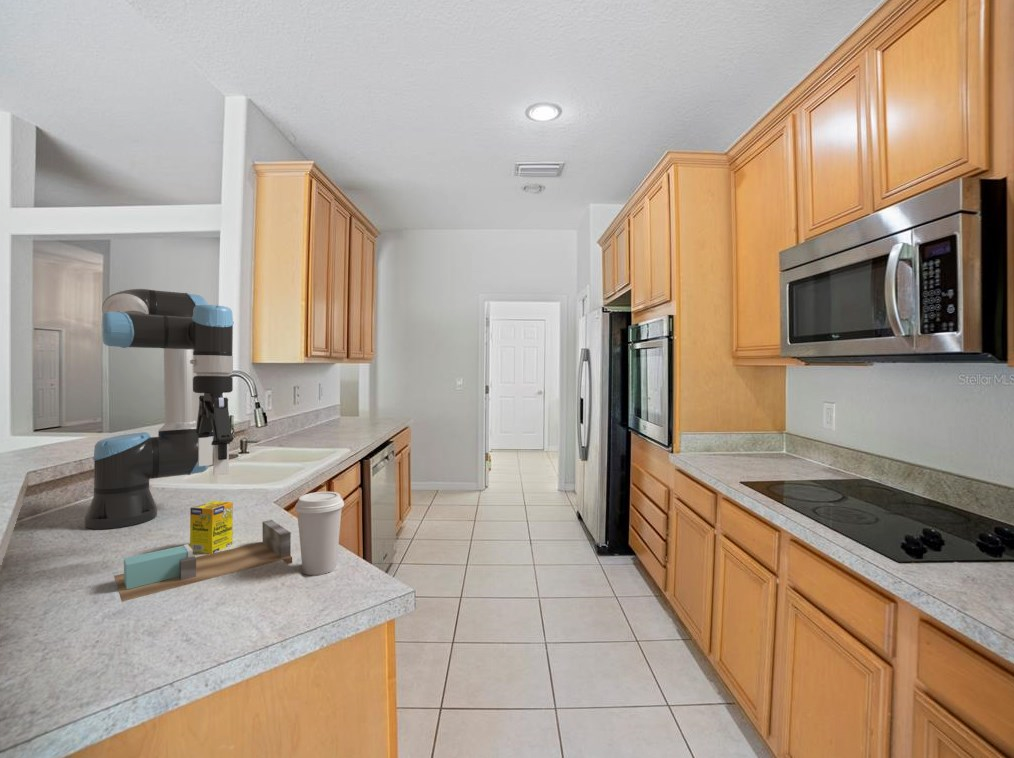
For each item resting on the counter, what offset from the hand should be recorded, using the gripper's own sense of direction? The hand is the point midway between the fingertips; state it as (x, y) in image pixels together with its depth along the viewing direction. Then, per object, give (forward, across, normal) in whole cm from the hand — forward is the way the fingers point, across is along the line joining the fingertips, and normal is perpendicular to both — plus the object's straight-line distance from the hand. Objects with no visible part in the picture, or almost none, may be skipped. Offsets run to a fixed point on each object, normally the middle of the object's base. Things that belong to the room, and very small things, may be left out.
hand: (212, 469), depth 104 cm
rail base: (+19, +11, -3) cm, 22 cm away
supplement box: (+19, 0, 0) cm, 19 cm away
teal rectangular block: (+17, +11, -11) cm, 23 cm away
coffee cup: (+19, +25, +14) cm, 34 cm away
